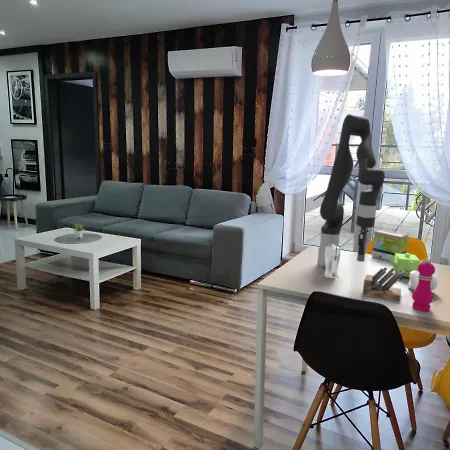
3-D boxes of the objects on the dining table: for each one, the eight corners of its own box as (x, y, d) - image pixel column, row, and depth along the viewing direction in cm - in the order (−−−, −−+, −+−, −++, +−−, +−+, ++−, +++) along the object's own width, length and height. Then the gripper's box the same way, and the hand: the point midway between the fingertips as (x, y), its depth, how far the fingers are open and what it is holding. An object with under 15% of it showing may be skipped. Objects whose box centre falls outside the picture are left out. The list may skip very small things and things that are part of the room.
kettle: (409, 282, 192) (412, 259, 190) (382, 274, 203) (385, 252, 201) (427, 277, 200) (430, 254, 198) (400, 269, 212) (402, 248, 210)
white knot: (399, 286, 187) (401, 266, 185) (425, 286, 188) (427, 267, 186) (412, 295, 176) (415, 275, 174) (439, 295, 177) (442, 275, 175)
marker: (356, 260, 183) (359, 234, 180) (357, 259, 186) (360, 232, 183) (363, 262, 181) (367, 235, 179) (364, 260, 184) (368, 233, 182)
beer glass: (339, 275, 198) (342, 245, 195) (336, 279, 192) (339, 248, 189) (324, 273, 201) (327, 243, 198) (321, 277, 195) (324, 246, 192)
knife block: (362, 294, 174) (365, 268, 172) (365, 288, 182) (367, 263, 180) (401, 301, 168) (404, 274, 166) (402, 294, 176) (405, 268, 174)
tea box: (371, 256, 234) (374, 231, 231) (380, 254, 241) (382, 228, 238) (397, 263, 223) (400, 236, 220) (405, 260, 230) (409, 233, 227)
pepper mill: (407, 304, 165) (413, 255, 161) (424, 304, 166) (431, 256, 162) (417, 312, 158) (423, 261, 154) (435, 312, 159) (442, 261, 155)
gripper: (359, 211, 187) (355, 248, 191) (354, 216, 174) (349, 256, 178) (377, 213, 184) (372, 251, 187) (373, 218, 171) (367, 259, 175)
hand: (361, 253), depth 183 cm, fingers closed on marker, 3 cm apart
